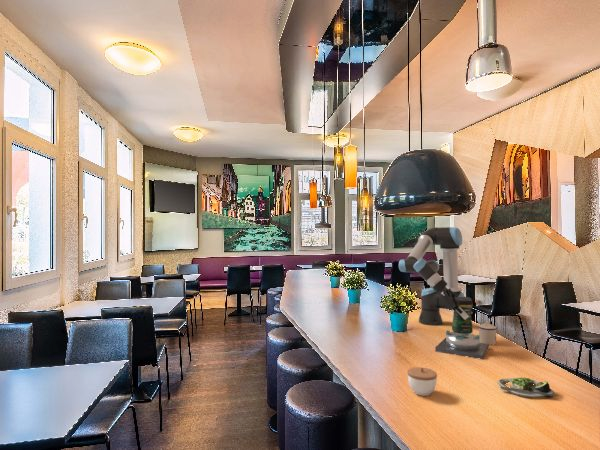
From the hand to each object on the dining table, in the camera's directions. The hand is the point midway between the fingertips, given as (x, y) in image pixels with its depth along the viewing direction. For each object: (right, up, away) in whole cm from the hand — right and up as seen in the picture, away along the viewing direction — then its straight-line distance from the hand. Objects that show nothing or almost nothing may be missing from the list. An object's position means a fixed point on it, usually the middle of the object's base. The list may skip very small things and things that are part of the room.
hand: (468, 316), depth 194 cm
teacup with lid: (+16, -18, +15) cm, 29 cm away
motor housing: (-3, -18, +1) cm, 18 cm away
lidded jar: (-41, -17, -51) cm, 68 cm away
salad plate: (+1, -17, -48) cm, 51 cm away
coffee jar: (-3, -9, +2) cm, 10 cm away
